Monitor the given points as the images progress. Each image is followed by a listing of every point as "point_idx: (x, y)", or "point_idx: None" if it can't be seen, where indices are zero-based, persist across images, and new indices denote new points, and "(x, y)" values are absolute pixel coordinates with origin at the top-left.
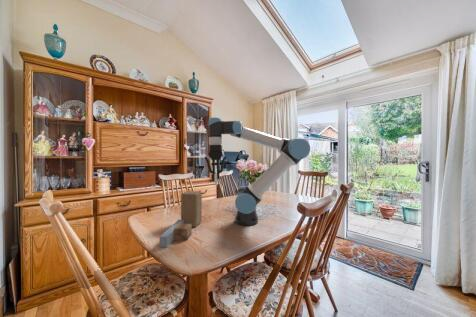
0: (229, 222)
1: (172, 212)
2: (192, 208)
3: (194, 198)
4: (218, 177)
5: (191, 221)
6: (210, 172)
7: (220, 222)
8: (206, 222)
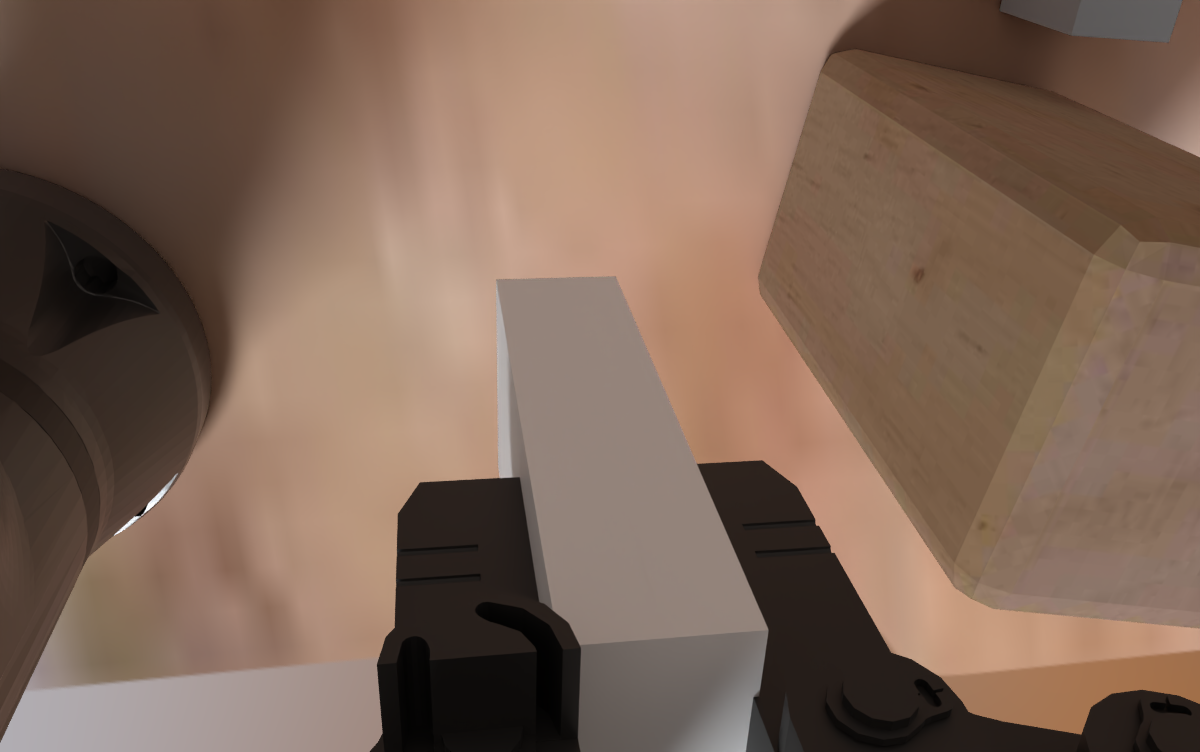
0: (296, 299)
1: None
2: (1027, 130)
3: (1111, 193)
4: (439, 543)
5: (930, 74)
6: (1135, 715)
7: (448, 291)
8: (675, 278)
